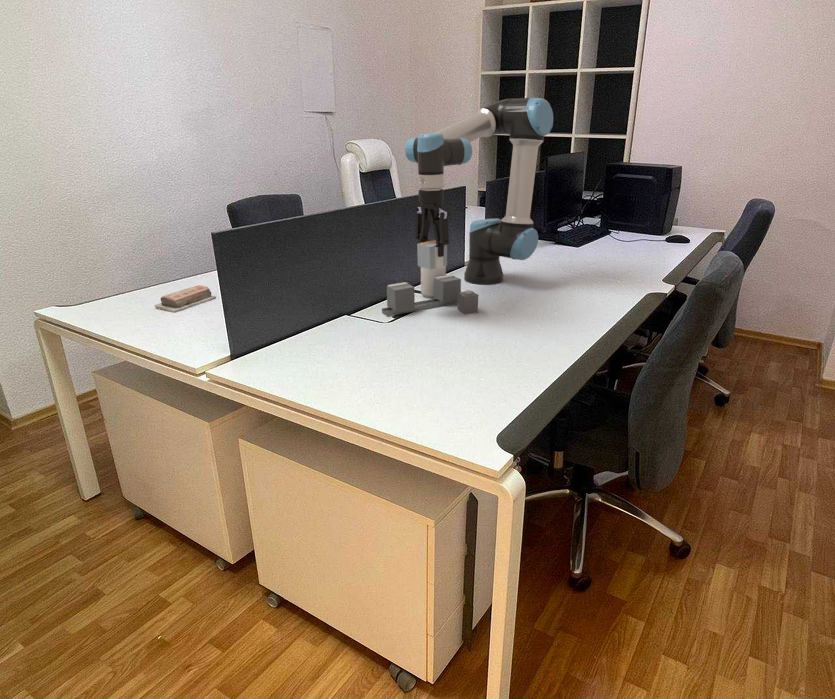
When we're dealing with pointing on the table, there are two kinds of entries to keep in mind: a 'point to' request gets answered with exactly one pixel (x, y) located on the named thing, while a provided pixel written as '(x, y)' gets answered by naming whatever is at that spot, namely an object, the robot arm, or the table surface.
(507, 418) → the table surface
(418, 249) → the block
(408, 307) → the mounted modules
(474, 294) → the block
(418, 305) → the rail
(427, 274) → the mug
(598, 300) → the table surface
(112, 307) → the table surface
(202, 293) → the packaged product
